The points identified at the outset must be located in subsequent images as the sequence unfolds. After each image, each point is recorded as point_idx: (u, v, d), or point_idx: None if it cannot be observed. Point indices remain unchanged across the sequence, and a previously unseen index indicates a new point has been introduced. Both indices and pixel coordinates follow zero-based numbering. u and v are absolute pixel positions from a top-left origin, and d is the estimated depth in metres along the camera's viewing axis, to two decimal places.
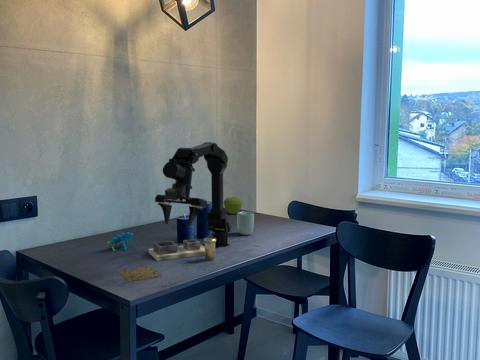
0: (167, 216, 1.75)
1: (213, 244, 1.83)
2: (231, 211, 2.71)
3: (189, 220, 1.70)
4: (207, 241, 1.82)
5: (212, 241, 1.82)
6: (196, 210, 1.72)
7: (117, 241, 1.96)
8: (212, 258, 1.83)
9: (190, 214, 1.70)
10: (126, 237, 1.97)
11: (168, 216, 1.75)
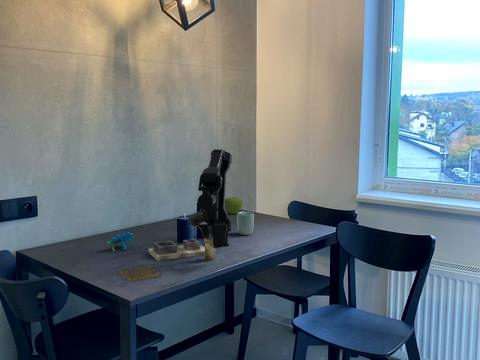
0: (205, 235, 1.88)
1: None
2: (231, 211, 2.71)
3: (213, 243, 1.79)
4: (207, 241, 1.82)
5: None
6: (219, 233, 1.79)
7: (117, 241, 1.96)
8: (212, 258, 1.83)
9: (212, 237, 1.78)
10: (126, 237, 1.97)
11: (206, 235, 1.88)
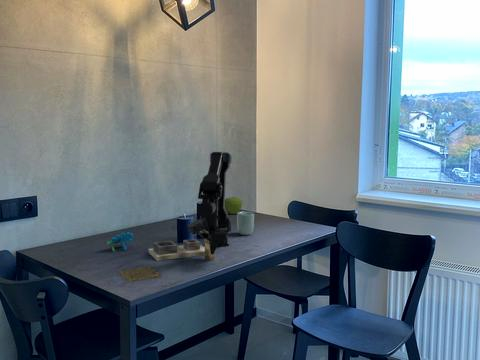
0: None
1: None
2: (231, 211, 2.71)
3: (210, 249, 1.82)
4: (207, 241, 1.82)
5: None
6: (216, 239, 1.81)
7: (117, 241, 1.96)
8: (212, 258, 1.83)
9: (209, 244, 1.81)
10: (126, 237, 1.97)
11: None
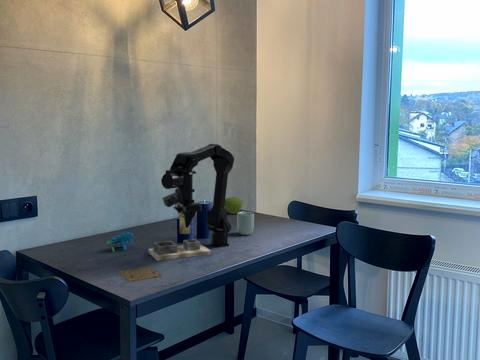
0: None
1: None
2: (231, 211, 2.71)
3: (185, 222, 1.83)
4: (182, 214, 1.83)
5: None
6: (191, 212, 1.82)
7: (117, 241, 1.96)
8: (187, 231, 1.84)
9: (184, 217, 1.82)
10: (126, 237, 1.96)
11: None
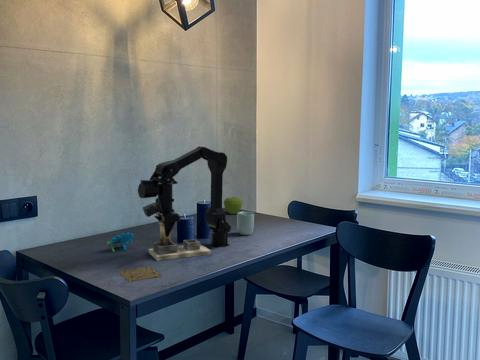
0: None
1: None
2: (231, 211, 2.71)
3: (165, 231, 1.85)
4: (162, 224, 1.86)
5: None
6: (171, 222, 1.85)
7: (117, 241, 1.95)
8: (167, 240, 1.87)
9: (164, 226, 1.85)
10: (126, 237, 1.96)
11: None
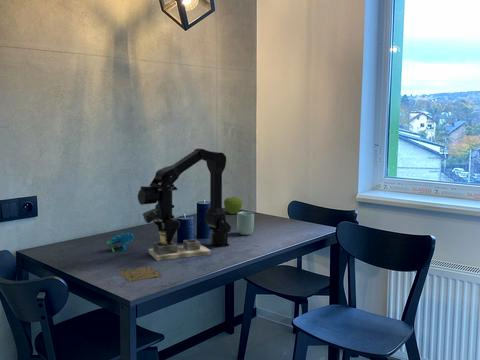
0: None
1: None
2: (231, 211, 2.71)
3: (166, 239, 1.84)
4: (162, 233, 1.86)
5: None
6: (172, 229, 1.83)
7: (117, 241, 1.95)
8: None
9: (165, 234, 1.83)
10: (126, 238, 1.96)
11: None
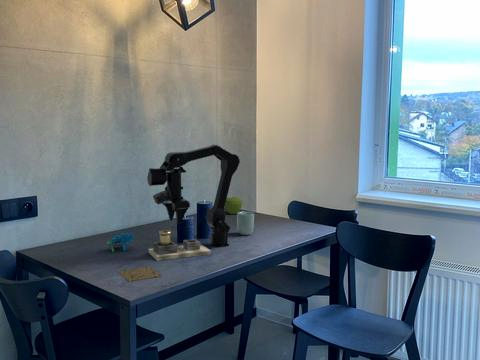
0: (170, 213, 1.99)
1: (168, 236, 1.87)
2: (231, 211, 2.71)
3: (177, 219, 1.90)
4: (162, 233, 1.86)
5: (166, 233, 1.86)
6: (183, 210, 1.90)
7: (117, 241, 1.95)
8: None
9: (176, 214, 1.90)
10: (126, 238, 1.96)
11: (172, 213, 1.99)
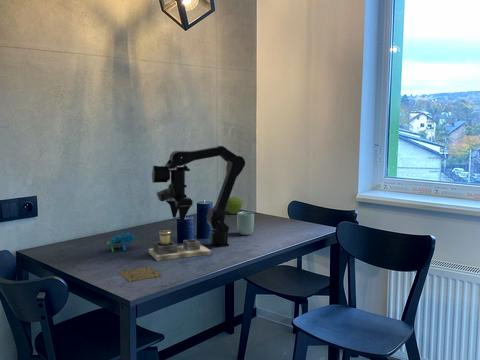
0: (173, 211, 2.02)
1: (168, 236, 1.87)
2: (231, 211, 2.71)
3: (179, 217, 1.93)
4: (161, 233, 1.86)
5: (166, 233, 1.86)
6: (185, 207, 1.93)
7: (117, 242, 1.95)
8: None
9: (179, 212, 1.93)
10: (126, 238, 1.96)
11: (175, 211, 2.02)
